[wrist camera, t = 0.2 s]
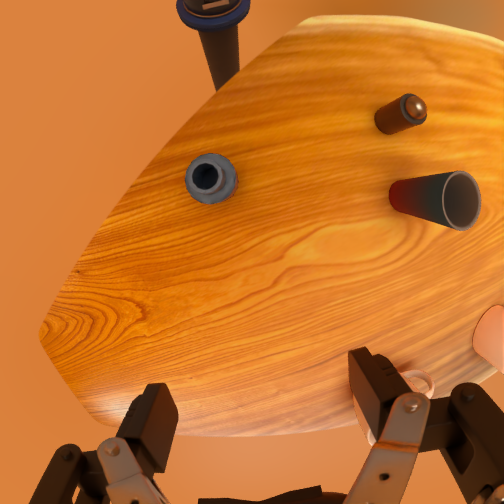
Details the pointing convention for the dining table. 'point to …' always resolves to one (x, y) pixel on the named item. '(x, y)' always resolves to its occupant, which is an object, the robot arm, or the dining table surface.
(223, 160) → the bottle
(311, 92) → the dining table surface
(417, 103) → the pepper mill
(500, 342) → the cup
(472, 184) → the cup
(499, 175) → the dining table surface
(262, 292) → the dining table surface
